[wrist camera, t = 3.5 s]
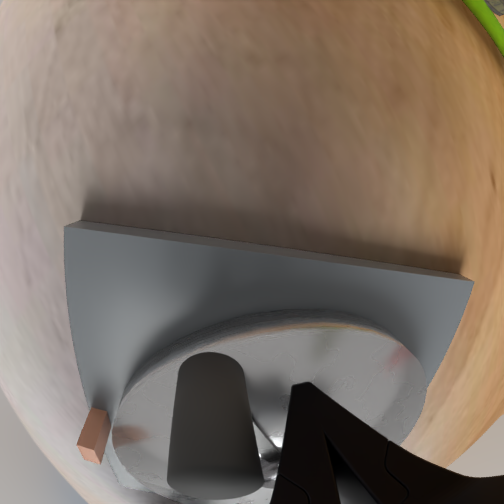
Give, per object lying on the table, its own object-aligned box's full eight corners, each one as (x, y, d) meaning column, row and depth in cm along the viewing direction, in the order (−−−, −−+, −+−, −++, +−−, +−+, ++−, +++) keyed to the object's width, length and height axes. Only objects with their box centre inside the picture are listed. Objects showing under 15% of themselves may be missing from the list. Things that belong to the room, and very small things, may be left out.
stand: (350, 472, 19) (364, 503, 15) (122, 473, 16) (116, 511, 11) (459, 274, 14) (507, 299, 10) (79, 220, 10) (21, 243, 6)
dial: (408, 433, 16) (443, 483, 10) (214, 505, 16) (219, 561, 10) (391, 235, 11) (513, 288, 4) (56, 376, 10) (8, 463, 4)
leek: (530, 182, 16) (330, -65, 7) (531, 137, 16) (354, -77, 6) (571, 187, 10) (376, -109, 1) (567, 138, 10) (391, -108, 1)
